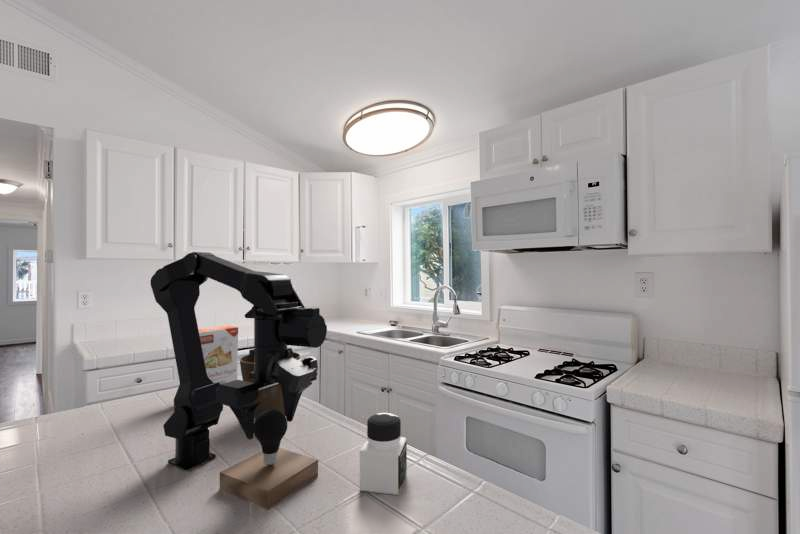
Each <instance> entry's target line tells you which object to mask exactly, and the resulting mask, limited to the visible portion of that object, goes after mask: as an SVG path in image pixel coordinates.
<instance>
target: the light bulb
mask: <svg viewBox="0 0 800 534" xmlns="http://www.w3.org/2000/svg"><path fill="white" fill-rule="evenodd" d="M287 431H288V421H287V419H286V417H285V416H284V414H283V413H281V412H280V411H278V410H267V411H264V412H263V413H261V414H260V415H259V416H258V417H257V419H256V420H254V437H255V438H256V440H257V441H258V442H259V443H260V447H261V451H263V454H264V455H263V456H264V457H263V458H264V459H263V462H264V463H265V464H266V465H268V466H272V465H273V464H274V463H276V462H277V460H278V449H279V448H280V445H281V441H282V439H283V438H284V436H285V434H286V432H287Z"/></svg>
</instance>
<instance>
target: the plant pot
mask: <svg viewBox="0 0 800 534" xmlns="http://www.w3.org/2000/svg"><path fill="white" fill-rule="evenodd" d="M293 356H294V359H296V360H299V359H301V354H300V353H298V352H294V351H293ZM239 365H240V373H241V378H242V381H247V382H254V379H251V378H249V373H250V372H254V356H250V355H249V354H246V355H243V356H241V357H239ZM264 384H266V383H264ZM256 401H257V402H260V403H259V405H258V406H257V407H256V409H255V412H254V421H256V419H257V417H258V416H259V415H260V414H261V413H263V412H264V411H267V410H278V411H280V412H281V413H283V414H284V416H285V417H286V415H285V410H284V403H283V396H282V389H281V385H277V386H274V387H271V388H268V389H265V390H262V391H259V396H258V398H257V399H256Z"/></svg>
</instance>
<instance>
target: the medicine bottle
mask: <svg viewBox="0 0 800 534" xmlns="http://www.w3.org/2000/svg"><path fill="white" fill-rule="evenodd" d="M366 422H367V423H366V426H367V428H366V430H367V431H366V436H367V437H366V438H367V439H366V441H365V442H364V444H363V446H362V447H361V449H360V450H359V491H361V492H369V493H375V494H376V493H378V494H385V495H393V496H394V495H395V496H399V495H400V494H401V491H402V488H403V485H404V482H405V479H406V477H407V473H408V472H407V471H408V470H407V469H408V468H407V463H408V462H407V456H408V454H407V438H406V437H405V436H404V437H403V436H401V435H402V434H401V427H402V425H401V418H400V417H399V416H398V415H396V414H393V413H389V412H379V413H375V414H373V415H371V416H369V417H368V419H367V421H366Z"/></svg>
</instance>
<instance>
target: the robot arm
mask: <svg viewBox="0 0 800 534" xmlns="http://www.w3.org/2000/svg"><path fill="white" fill-rule="evenodd" d="M208 279H210V280H213V281H215V282H217V283H220V284H223V285H225V286H227V287H230V288H231V289H234V290H236V291H238V292H239V294H240V295H241V297H242V298H243V300H246V301H247V302H249V303H250V305H252V306H251V307H252V308H250V310H248V311H247V312H246V313H245V314H244V317H245V319H253V327H254V328H253V329H254V330H253V331H254V332H253V347H254V348H251V349H249V350H248V351H249V352H248V355H250V356H254V372H250V373H249V378H251V379H254V382H247V381H243V379H242V380H241V379H237V380H234V381H231V382H228V383H224V384H221V385H220V383H219V382H217V383H213V382H212V380H211V379H210V378H209V377H208V376H207V372H206V367H205V361H204V356H203V351H202V346H201V341H200V335H199V330H198V329H199V325H198V321H197V314H196V311H195V307H196V305H197V302H198V300H199V297H200V294H201V293H200V289H201V288H200V286H201V285H203V284H204V283H206V282H207V281H208ZM291 280H292V279H291V278H290V277H289V276H288V275H286V274H281V273H275V272H268V271H267V272H265V271H259V270H258V271H256V270H252V269H250V268H247V267H246V266H245V267H244V266H242V265H240V264H237V263H234V262H232V261H229V260H226V259H224V258H221V257H218V256H217V255H215V254H214V253H211V252H202V251H193V252H189V253H187V254H186V255H184V256H183V257H182V258H180V259H177V260H175V261H174V262H171V263H167V264H166V265H164V266H163V267H161V268H158V269H157V270H155V273H154V274H153V275H152V276H151V279H150V282H149V283H150V287H151V290H152V294H153V296H154V301H155V302H156V303H157V304H158V305H159V306H160V307H161V308H162V309H163V311H164V312H165V313H166V314H167V319H168V325H169V331H170V336H171V341H172V347H173V353H174V358H175V365H176V369H177V374H178V379H179V385H178V388H177V390H176V394H175V395H174V399H173V410H174V411H173V413H172V414H171V415H170V416H169V418H167V420H166V421H165V422H164V423H163V430H164V435H165V437H167V438H172V439H175V452H174V453H175V456H174V457H172V458H170V459H168V460H167V464H169V465H172V466H174V467H176V468H178V469H181V470H183V471H189V470H191V469H193V468H197V467H198V466H201V465H203V464H205V463H207V462H209V461H211V460H215V458H217V454H215V453H213V452H210V451H211V447H210V446H211V440H210V429H209V428H211V427H212V426H216V425H218V423H219V419H220V417H221V413H222V412H223V409H224V406H226V407H229V408H230V410H231V412H232V413H233V414H234V416H235V417H236V420H237V422H238V423H239V425H240V427H241V429H242V431H243V433H244V435H245V437H246V439H247V440H250V441H251V440H253V439H254V437H255V435H254V423H255V418H254V412H255V409H256V407H257V406H258V405H259V403H260V402H257V401H256V399H257V398H258V396H259V391H262V390H265V389H268V388H271V387H274V386H277V385H281V389H282V396H283V403H284V410H285V415H286V420H287V422H290V423H291V422H293V419H294V417H295V414H296V411H297V407H298V404H299V402H300V399H301V397H302V394H303V392H304V391H305V390H306V389H307V388H309V387H310V386H312V385H313V382H314V381H316V380H317V376H318V367H319V365H318V359H317V358H316V357H314V356H311V355H310V356H306V357H305V358H304V359H303V358H302V359H301V358H300V359H299V360H296V359H294V356H293V352H294V350H293V348H292V347H302V348H313V349H317V348H319V347H321V346H322V344H324V342H325V340H326V337H327V331H328V328H327V327H328V326H327V324H326V320H325V319H324V317H323V315H321V313H320V312H321V311H320V310H321V309H320V308H319V307H308V308H307V307H305V306H304V304H303V302H302V300H301V299H300V297H299V296H298V294H297V292H296V290H295V288H294V287H293V284H292V281H291ZM288 346H291V347H288ZM264 383H266V384H264Z"/></svg>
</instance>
